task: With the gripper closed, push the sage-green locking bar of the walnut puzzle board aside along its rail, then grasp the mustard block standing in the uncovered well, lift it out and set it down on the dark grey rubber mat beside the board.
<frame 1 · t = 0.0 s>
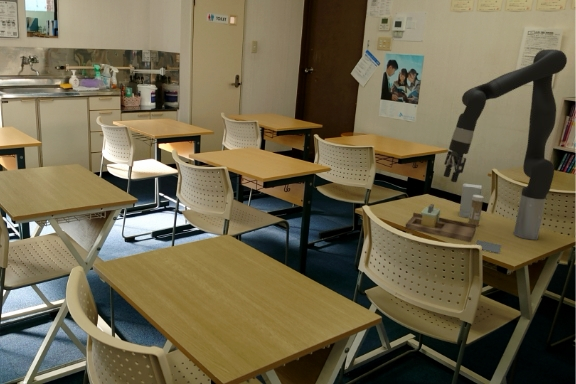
hand: (449, 179, 210), 22 cm above the table, tool pointing down, fingers open, 8 cm apart
lock slider: (430, 214, 216), point 6 cm above the table, slide at 0.0 cm
block: (427, 228, 217), resting on puzzle board
mat: (486, 246, 201), on the table
sprinkles bottle: (473, 226, 226), on the table
skincare box: (467, 216, 239), on the table
puzzle board: (439, 231, 215), on the table
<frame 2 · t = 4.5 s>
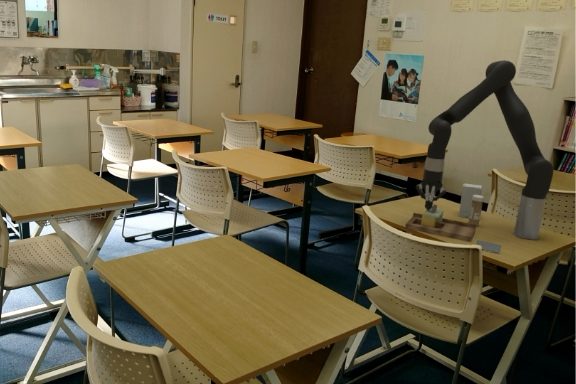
hand: (428, 209, 216), 8 cm above the table, tool pointing down, fingers closed
lock slider: (433, 214, 216), point 6 cm above the table, slide at 1.3 cm, touching gripper
everything else where it was.
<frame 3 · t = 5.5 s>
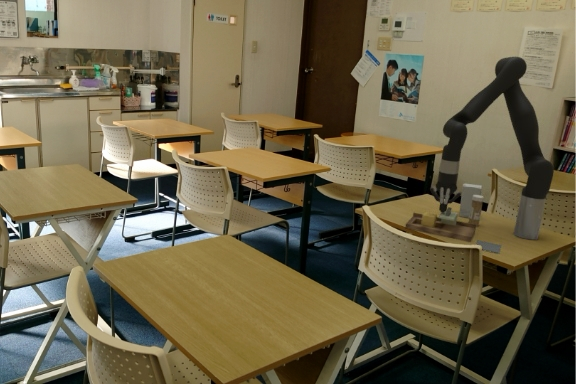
hand: (442, 211, 214), 8 cm above the table, tool pointing down, fingers closed
lock slider: (447, 217, 213), point 6 cm above the table, slide at 7.2 cm, touching gripper
everything else where it was.
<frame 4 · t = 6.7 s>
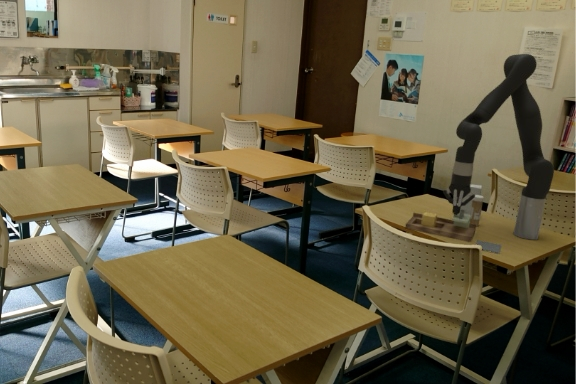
hand: (455, 214, 211), 8 cm above the table, tool pointing down, fingers closed
lock slider: (461, 219, 211), point 6 cm above the table, slide at 12.4 cm, touching gripper
everything else where it was.
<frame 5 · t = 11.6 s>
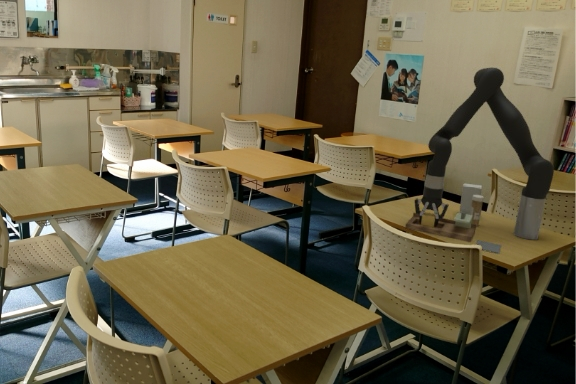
hand: (428, 225, 216), 2 cm above the table, tool pointing down, fingers closed on block, 5 cm apart
lock slider: (462, 220, 211), point 6 cm above the table, slide at 13.0 cm
block: (427, 228, 217), point 1 cm above the table, touching gripper, puzzle board
everything else where it was.
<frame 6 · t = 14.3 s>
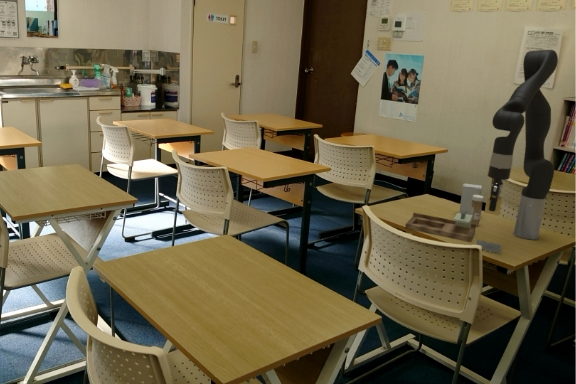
hand: (492, 208, 197), 15 cm above the table, tool pointing down, fingers closed on block, 5 cm apart
block: (492, 212, 198), point 14 cm above the table, touching gripper
everything else where it was.
when the fingers open (3 cm above the table, at t = 17.1 s): block drops 1 cm, resting on mat.
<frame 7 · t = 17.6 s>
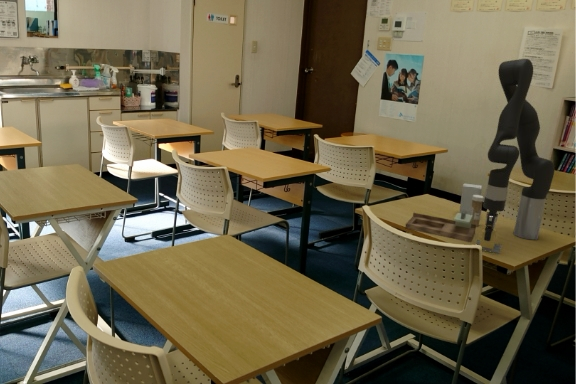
hand: (488, 237, 200), 4 cm above the table, tool pointing down, fingers open, 8 cm apart
block: (486, 245, 201), resting on mat
everything else where it was.
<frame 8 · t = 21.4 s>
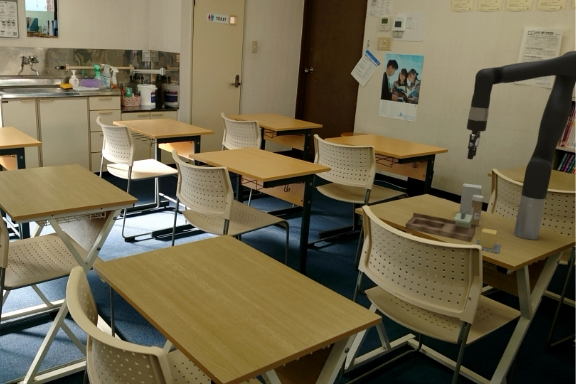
hand: (471, 157, 217), 30 cm above the table, tool pointing down, fingers open, 8 cm apart
nothing on the table moved.
at the end: lock slider slide at 13.0 cm; block inside the target area on the mat (0.1 cm from its centre), point 0.4 cm above the mat's base; block tilted 0° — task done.
